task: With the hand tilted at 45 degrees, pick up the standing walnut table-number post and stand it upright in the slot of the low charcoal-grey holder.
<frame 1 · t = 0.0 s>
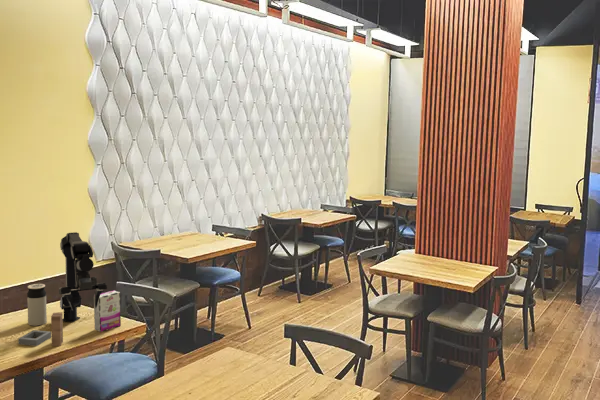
hand: (84, 308, 246), 15 cm above the table, tool pointing down, fingers open, 9 cm apart
candy bar box: (107, 328, 268), on the table
slotted holder: (35, 340, 250), on the table
walnut post: (57, 343, 247), on the table
travel mug: (37, 323, 271), on the table
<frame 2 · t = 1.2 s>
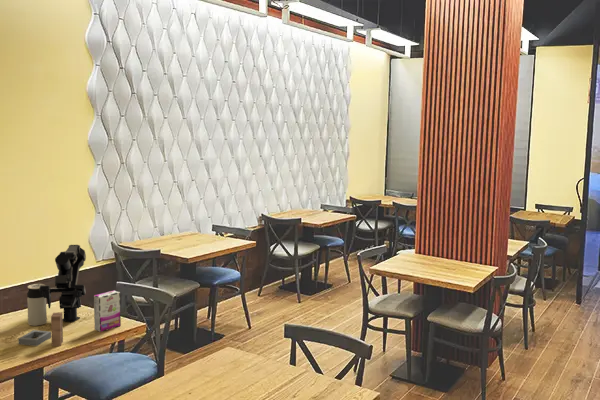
hand: (60, 307, 253), 13 cm above the table, tool tilted 45°, fingers open, 9 cm apart
nothing on the table moved.
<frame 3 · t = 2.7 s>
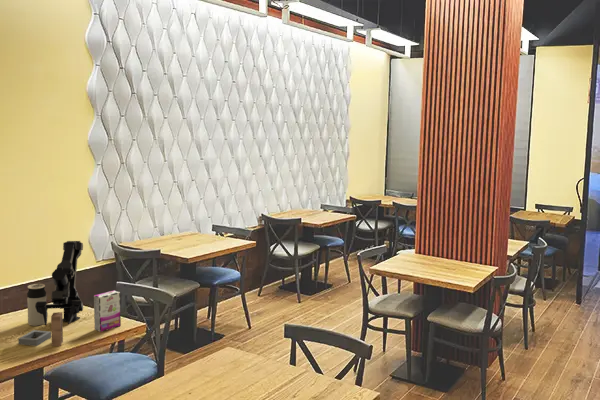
hand: (57, 324, 247), 9 cm above the table, tool tilted 45°, fingers open, 9 cm apart
nothing on the table moved.
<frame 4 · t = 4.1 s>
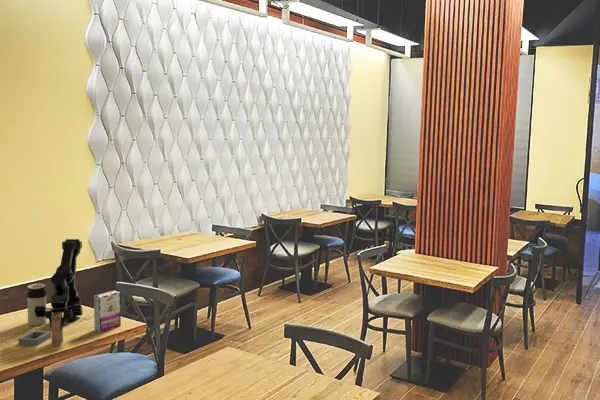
hand: (56, 328, 245), 7 cm above the table, tool tilted 45°, fingers closed on walnut post, 3 cm apart
walnut post: (57, 343, 247), on the table, touching gripper
everything else where it was.
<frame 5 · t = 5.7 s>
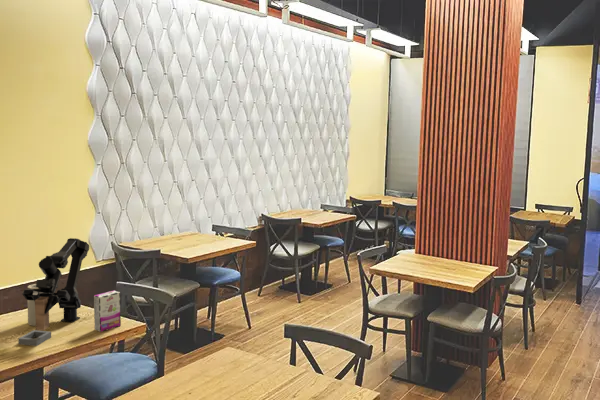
hand: (40, 313, 246), 13 cm above the table, tool tilted 45°, fingers closed on walnut post, 3 cm apart
walnut post: (42, 328, 248), point 6 cm above the table, touching gripper
everything else where it was.
when the fingers open (8 cm above the table, at t = 7.6 s): walnut post stays where it is, resting in slotted holder.
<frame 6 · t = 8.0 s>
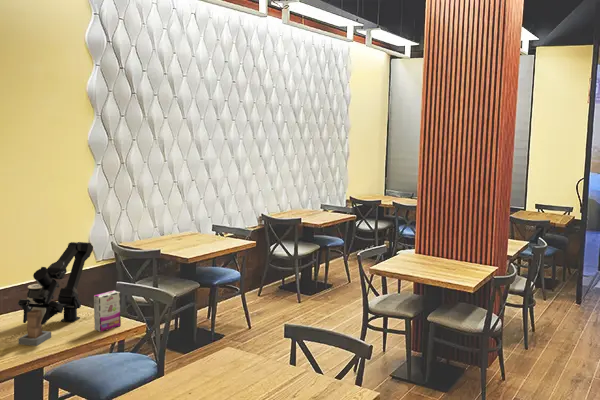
hand: (32, 323, 248), 8 cm above the table, tool tilted 45°, fingers open, 8 cm apart
walnut post: (35, 340, 250), resting in slotted holder
everything else where it was.
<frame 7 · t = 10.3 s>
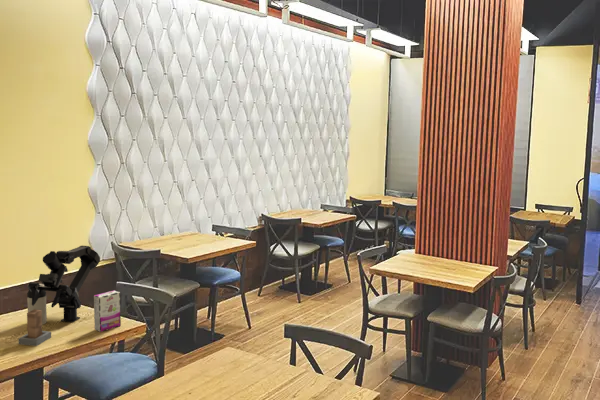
hand: (42, 306, 254), 14 cm above the table, tool tilted 45°, fingers open, 9 cm apart
nothing on the table moved.
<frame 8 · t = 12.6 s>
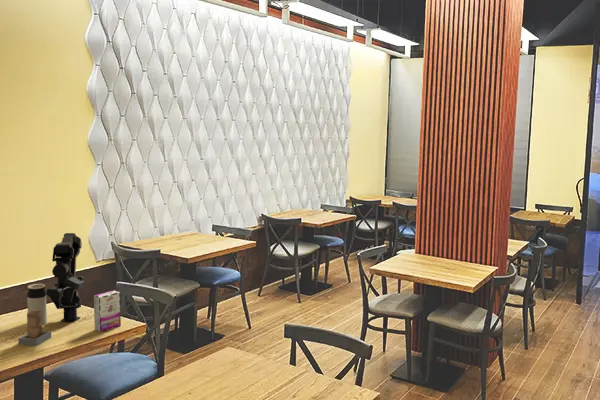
hand: (64, 305, 260), 12 cm above the table, tool pointing down, fingers open, 9 cm apart
nothing on the table moved.
at the end: walnut post 0.0 cm off-centre on the slotted holder, point 0.0 cm above the slotted holder's base; walnut post tilted 0°; the gripper is holding nothing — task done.
